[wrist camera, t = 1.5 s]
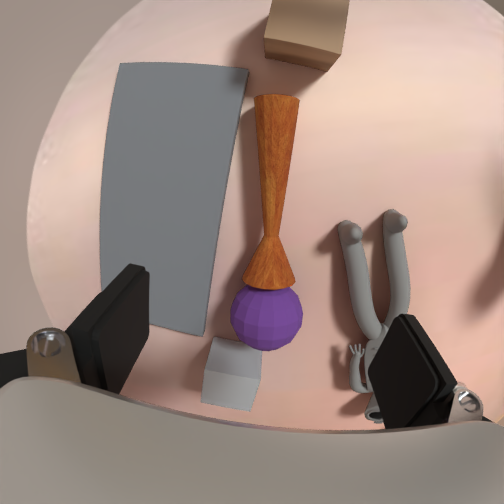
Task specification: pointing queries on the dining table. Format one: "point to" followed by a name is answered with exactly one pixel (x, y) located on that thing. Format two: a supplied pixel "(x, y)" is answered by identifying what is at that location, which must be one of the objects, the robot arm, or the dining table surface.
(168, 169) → the charcoal mat
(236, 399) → the grey block
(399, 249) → the alien figure
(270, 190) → the kendama
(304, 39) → the walnut block
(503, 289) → the dining table surface
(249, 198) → the dining table surface
